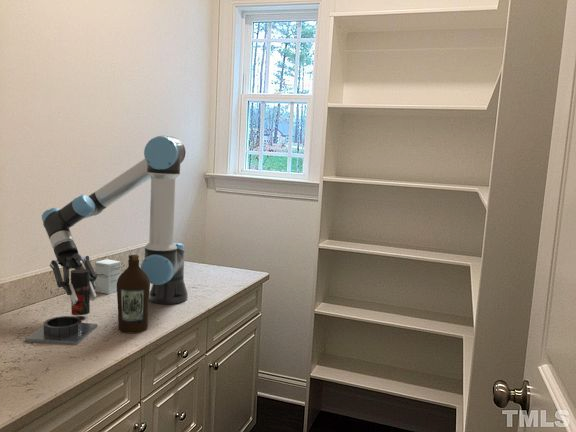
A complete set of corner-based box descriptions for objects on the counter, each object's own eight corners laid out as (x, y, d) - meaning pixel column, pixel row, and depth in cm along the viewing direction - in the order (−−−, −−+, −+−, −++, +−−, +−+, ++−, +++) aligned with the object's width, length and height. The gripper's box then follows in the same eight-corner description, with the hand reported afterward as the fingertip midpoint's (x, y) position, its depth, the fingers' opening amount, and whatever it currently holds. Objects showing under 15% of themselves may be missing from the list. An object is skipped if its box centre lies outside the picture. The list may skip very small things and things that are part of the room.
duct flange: (97, 326, 171) (97, 315, 170) (76, 344, 155) (76, 332, 154) (50, 323, 171) (50, 312, 171) (24, 341, 155) (24, 329, 155)
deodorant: (93, 311, 181) (92, 270, 179) (81, 316, 175) (80, 273, 173) (79, 309, 182) (79, 268, 181) (67, 313, 177) (66, 271, 175)
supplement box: (94, 291, 210) (94, 262, 208) (106, 287, 216) (107, 258, 215) (108, 294, 207) (108, 264, 205) (120, 290, 214) (121, 260, 212)
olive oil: (118, 323, 175) (118, 252, 171) (150, 322, 177) (151, 252, 174) (114, 334, 164) (115, 259, 161) (148, 333, 167) (149, 259, 164)
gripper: (86, 249, 193) (107, 300, 185) (34, 255, 180) (54, 311, 171) (92, 237, 189) (114, 289, 180) (39, 242, 175) (60, 299, 167)
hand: (85, 300), depth 176 cm, fingers closed on deodorant, 6 cm apart
